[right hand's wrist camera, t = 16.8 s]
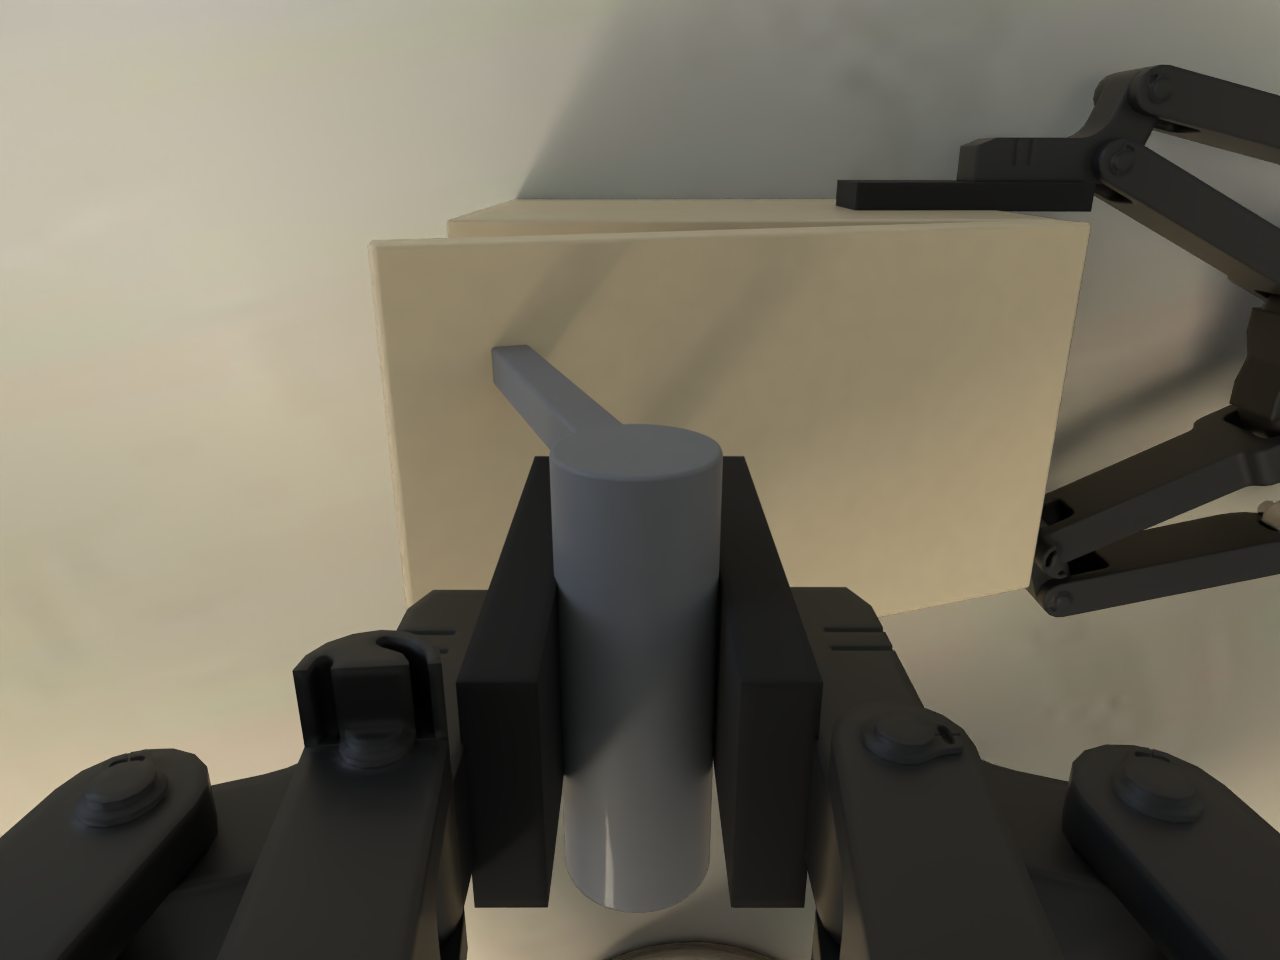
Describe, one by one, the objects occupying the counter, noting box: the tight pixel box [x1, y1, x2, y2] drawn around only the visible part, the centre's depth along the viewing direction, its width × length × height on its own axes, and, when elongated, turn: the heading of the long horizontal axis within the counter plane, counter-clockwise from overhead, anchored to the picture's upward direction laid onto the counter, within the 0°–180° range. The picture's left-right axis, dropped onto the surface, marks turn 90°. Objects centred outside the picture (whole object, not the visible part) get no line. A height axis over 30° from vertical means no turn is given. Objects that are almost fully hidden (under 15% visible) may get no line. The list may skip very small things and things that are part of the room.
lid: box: [368, 220, 1091, 913], centre depth 16 cm, size 16×9×9 cm, turn 90°
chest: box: [447, 199, 1057, 238], centre depth 27 cm, size 14×9×11 cm, turn 90°
